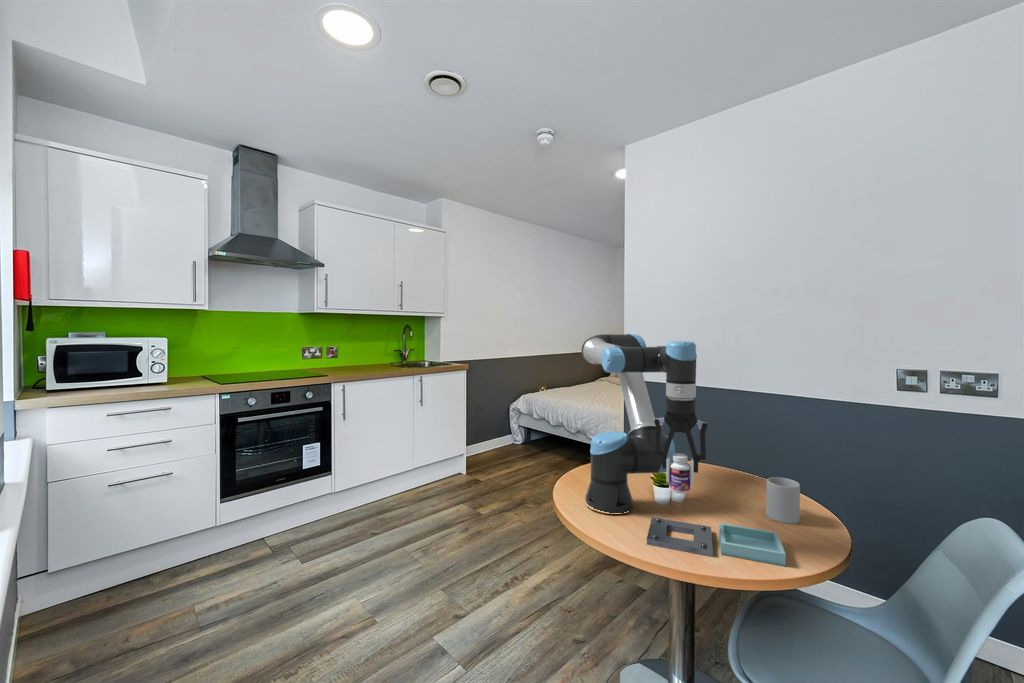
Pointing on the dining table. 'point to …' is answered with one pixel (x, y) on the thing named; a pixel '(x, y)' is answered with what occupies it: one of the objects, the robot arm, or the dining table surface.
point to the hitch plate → (698, 546)
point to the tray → (751, 544)
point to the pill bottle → (679, 474)
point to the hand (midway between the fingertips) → (679, 481)
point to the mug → (783, 500)
